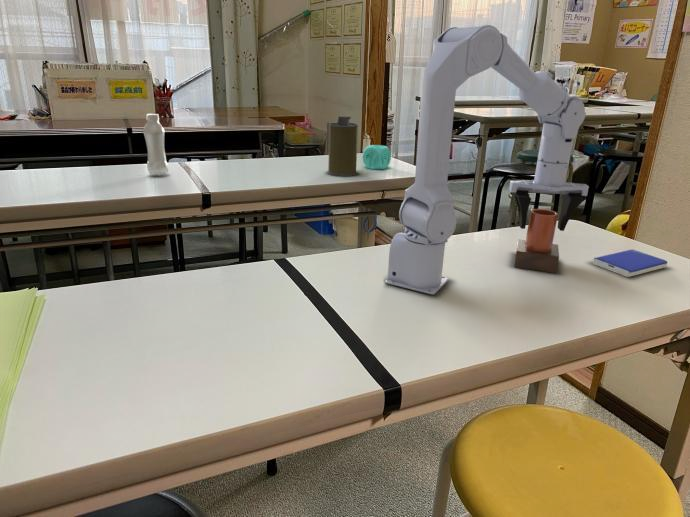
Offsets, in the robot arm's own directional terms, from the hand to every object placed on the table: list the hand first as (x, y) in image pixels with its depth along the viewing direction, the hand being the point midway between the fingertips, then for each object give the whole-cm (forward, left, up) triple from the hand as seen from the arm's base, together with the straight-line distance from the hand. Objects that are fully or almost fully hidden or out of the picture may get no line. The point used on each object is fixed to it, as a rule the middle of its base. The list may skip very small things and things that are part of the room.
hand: (541, 228), depth 104 cm
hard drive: (+17, +10, -8) cm, 21 cm away
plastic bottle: (-125, +12, -8) cm, 126 cm away
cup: (0, 0, -4) cm, 4 cm away
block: (0, 0, -8) cm, 8 cm away
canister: (-78, +54, -8) cm, 95 cm away
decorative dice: (-73, +72, -8) cm, 103 cm away
